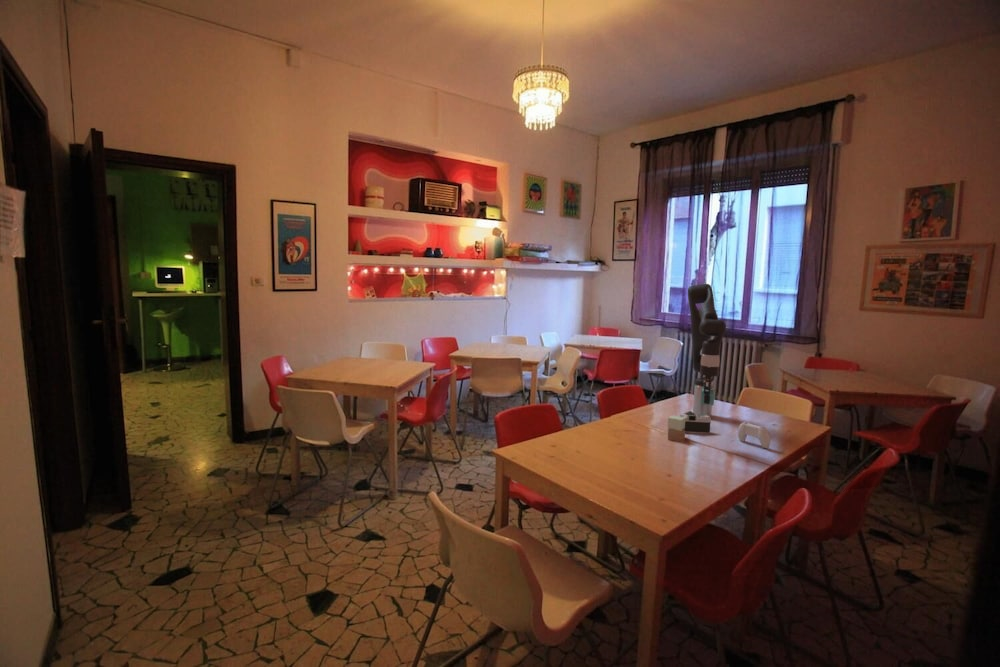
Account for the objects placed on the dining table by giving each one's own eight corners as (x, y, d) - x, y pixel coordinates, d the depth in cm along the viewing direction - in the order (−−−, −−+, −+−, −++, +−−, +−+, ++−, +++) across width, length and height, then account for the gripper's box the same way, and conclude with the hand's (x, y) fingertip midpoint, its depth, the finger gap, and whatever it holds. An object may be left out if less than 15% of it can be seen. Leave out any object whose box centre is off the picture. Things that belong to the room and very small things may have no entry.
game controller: (771, 449, 206) (773, 427, 205) (765, 451, 204) (767, 428, 203) (740, 440, 218) (741, 419, 217) (734, 441, 216) (736, 420, 215)
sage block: (671, 425, 222) (672, 415, 222) (684, 427, 219) (685, 417, 218) (667, 428, 217) (668, 417, 217) (681, 430, 214) (681, 420, 213)
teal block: (701, 401, 213) (702, 388, 213) (714, 403, 211) (714, 390, 210) (700, 404, 209) (701, 390, 208) (712, 405, 207) (713, 392, 206)
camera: (706, 429, 234) (707, 409, 233) (711, 434, 226) (713, 414, 225) (673, 427, 236) (674, 407, 235) (677, 432, 228) (678, 412, 227)
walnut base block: (667, 435, 223) (668, 425, 222) (683, 437, 221) (684, 427, 220) (668, 440, 216) (668, 429, 216) (684, 441, 214) (685, 431, 213)
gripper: (702, 361, 216) (700, 397, 218) (698, 366, 204) (696, 404, 205) (720, 363, 213) (718, 400, 214) (717, 367, 200) (715, 406, 202)
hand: (707, 402), depth 210 cm, fingers closed on teal block, 5 cm apart
